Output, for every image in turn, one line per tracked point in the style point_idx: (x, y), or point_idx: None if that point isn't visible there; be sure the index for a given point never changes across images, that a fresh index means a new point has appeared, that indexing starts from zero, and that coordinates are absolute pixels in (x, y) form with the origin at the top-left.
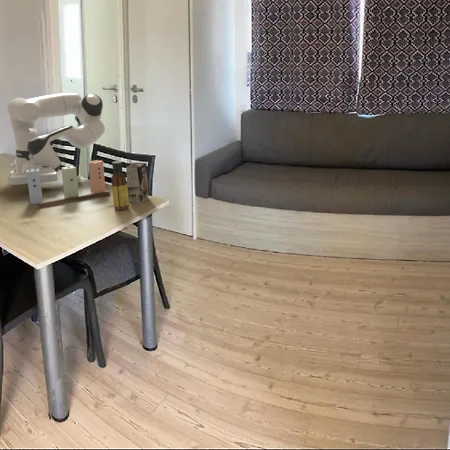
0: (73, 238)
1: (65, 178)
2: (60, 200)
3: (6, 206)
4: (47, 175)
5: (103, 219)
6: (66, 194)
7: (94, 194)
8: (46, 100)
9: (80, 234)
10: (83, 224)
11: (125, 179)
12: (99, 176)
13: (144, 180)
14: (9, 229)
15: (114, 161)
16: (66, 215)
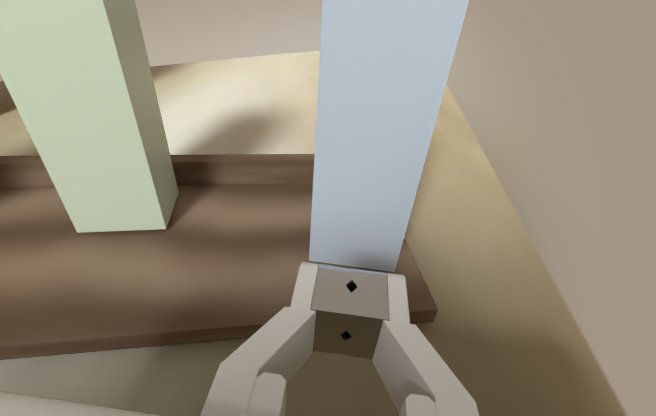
0: (310, 61)
1: (142, 40)
2: (235, 157)
3: (563, 323)
4: (3, 395)
5: (193, 82)
6: (167, 166)
7: (6, 159)
8: None
9: (290, 64)
10: (258, 82)
11: None
12: None
13: None
14: (450, 113)
15: None
16: (267, 124)
